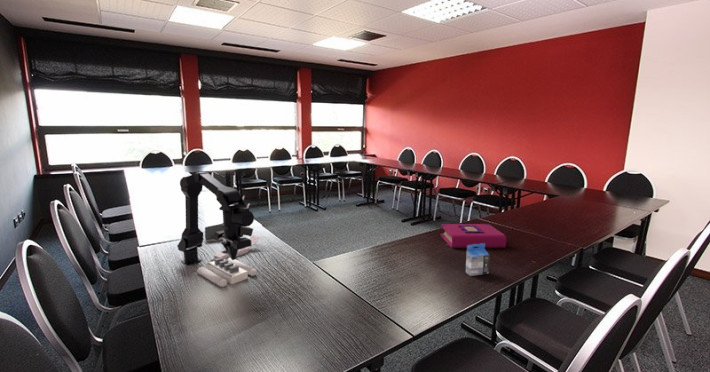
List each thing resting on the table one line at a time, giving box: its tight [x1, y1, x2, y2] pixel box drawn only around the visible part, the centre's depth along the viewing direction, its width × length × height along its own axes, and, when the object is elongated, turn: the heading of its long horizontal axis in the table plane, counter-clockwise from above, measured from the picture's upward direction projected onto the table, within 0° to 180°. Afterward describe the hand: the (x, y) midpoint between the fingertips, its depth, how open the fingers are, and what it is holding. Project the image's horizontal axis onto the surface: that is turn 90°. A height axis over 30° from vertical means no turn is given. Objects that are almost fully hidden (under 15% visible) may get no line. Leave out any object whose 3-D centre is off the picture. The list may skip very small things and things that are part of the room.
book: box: [440, 223, 507, 249], centre depth 180 cm, size 21×28×8 cm
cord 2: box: [228, 258, 257, 277], centre depth 143 cm, size 20×3×3 cm, turn 49°
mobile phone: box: [209, 235, 261, 262], centre depth 160 cm, size 6×6×25 cm
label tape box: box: [465, 244, 491, 277], centre depth 140 cm, size 9×4×12 cm, turn 105°
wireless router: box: [204, 196, 251, 243], centre depth 188 cm, size 34×23×20 cm
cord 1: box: [197, 266, 228, 288], centre depth 133 cm, size 20×3×3 cm, turn 49°
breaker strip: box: [206, 257, 249, 285], centre depth 138 cm, size 20×7×5 cm, turn 49°
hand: (233, 259), depth 134 cm, fingers closed
